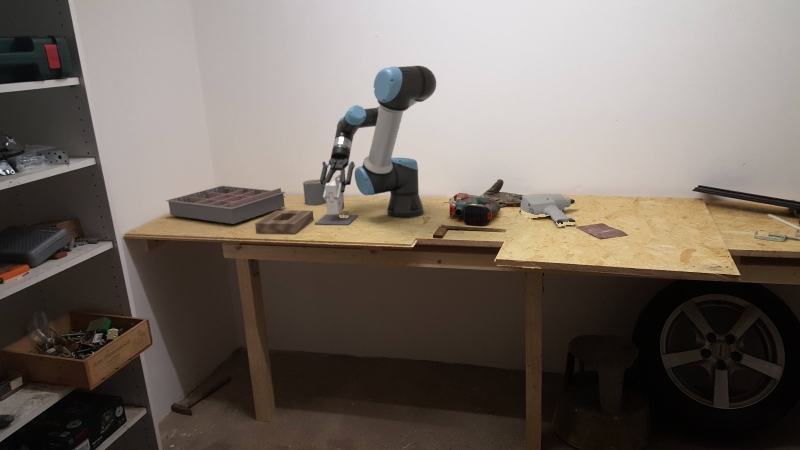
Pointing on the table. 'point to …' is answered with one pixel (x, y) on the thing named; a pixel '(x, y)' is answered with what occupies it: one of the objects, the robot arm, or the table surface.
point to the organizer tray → (227, 204)
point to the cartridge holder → (284, 222)
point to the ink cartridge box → (334, 196)
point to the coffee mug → (313, 192)
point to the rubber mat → (335, 220)
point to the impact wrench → (547, 206)
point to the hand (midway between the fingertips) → (331, 198)
